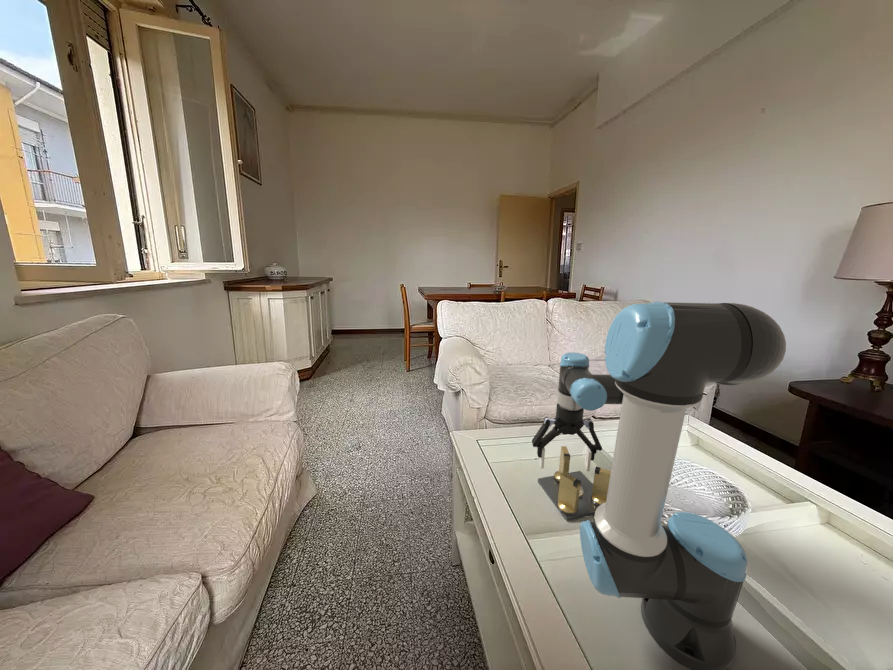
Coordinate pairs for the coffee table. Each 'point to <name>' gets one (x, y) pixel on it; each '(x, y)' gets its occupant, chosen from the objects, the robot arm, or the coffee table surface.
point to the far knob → (563, 463)
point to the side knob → (600, 485)
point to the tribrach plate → (585, 497)
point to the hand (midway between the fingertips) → (564, 467)
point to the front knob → (568, 493)
